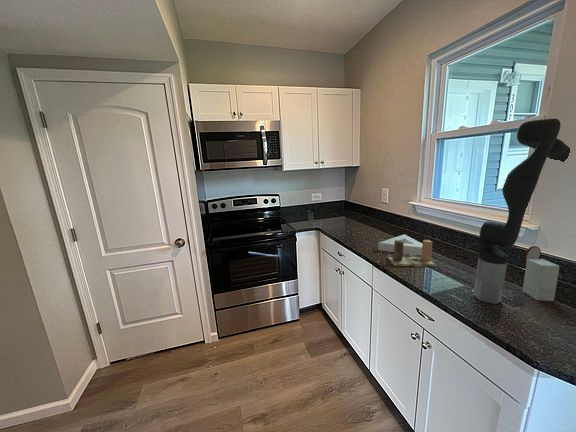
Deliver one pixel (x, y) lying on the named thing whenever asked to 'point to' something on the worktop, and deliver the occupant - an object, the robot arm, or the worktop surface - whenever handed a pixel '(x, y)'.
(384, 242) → the triangle block
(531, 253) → the magnifying glass
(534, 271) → the skincare box
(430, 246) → the block
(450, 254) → the worktop surface
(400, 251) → the fixed leg
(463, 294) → the worktop surface
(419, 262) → the board
